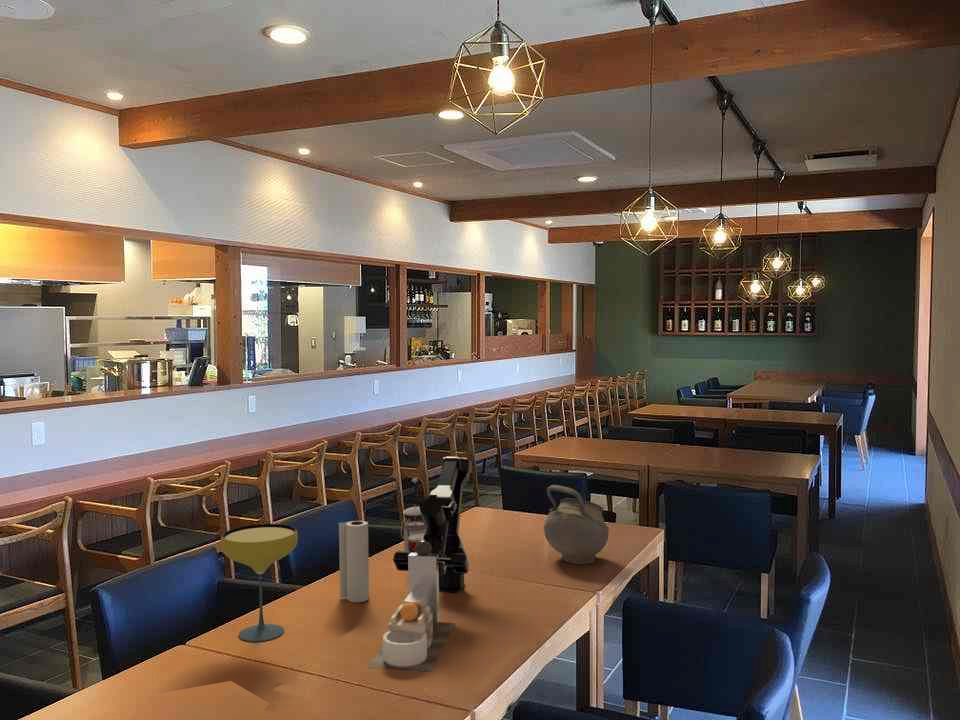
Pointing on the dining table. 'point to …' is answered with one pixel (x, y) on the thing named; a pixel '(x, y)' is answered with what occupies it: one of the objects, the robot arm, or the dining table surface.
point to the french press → (412, 523)
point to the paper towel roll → (354, 561)
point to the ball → (409, 611)
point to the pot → (575, 527)
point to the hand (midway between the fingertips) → (426, 592)
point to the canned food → (414, 541)
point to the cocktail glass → (259, 563)
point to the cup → (404, 648)
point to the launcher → (418, 625)
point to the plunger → (424, 580)
